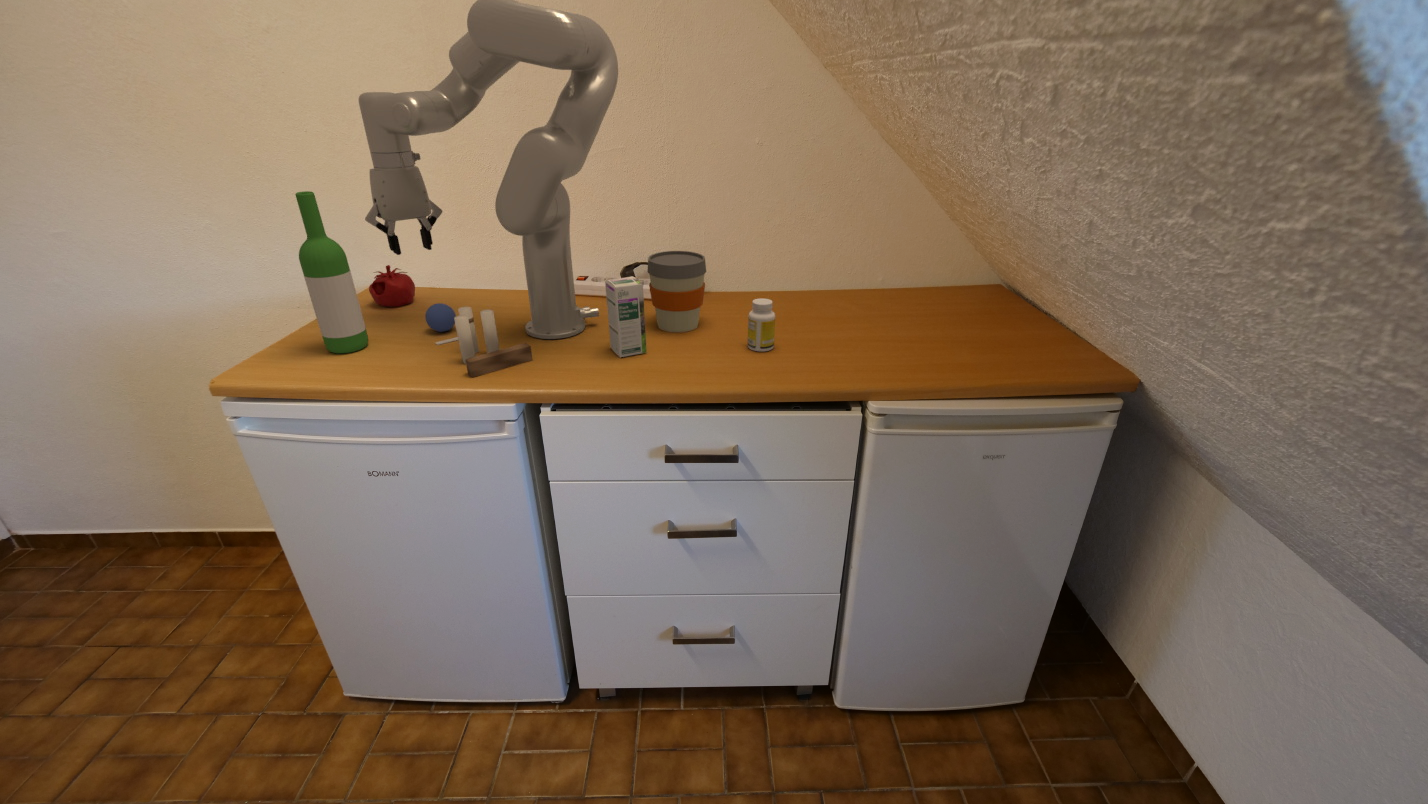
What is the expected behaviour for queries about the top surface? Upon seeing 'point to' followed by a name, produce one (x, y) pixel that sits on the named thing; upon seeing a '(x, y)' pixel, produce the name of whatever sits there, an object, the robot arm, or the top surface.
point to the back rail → (498, 359)
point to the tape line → (446, 341)
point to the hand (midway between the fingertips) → (412, 250)
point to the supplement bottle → (761, 325)
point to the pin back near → (489, 330)
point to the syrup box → (626, 316)
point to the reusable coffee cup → (677, 288)
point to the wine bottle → (329, 283)
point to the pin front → (468, 312)
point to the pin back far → (464, 337)
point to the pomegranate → (392, 288)
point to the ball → (440, 317)
